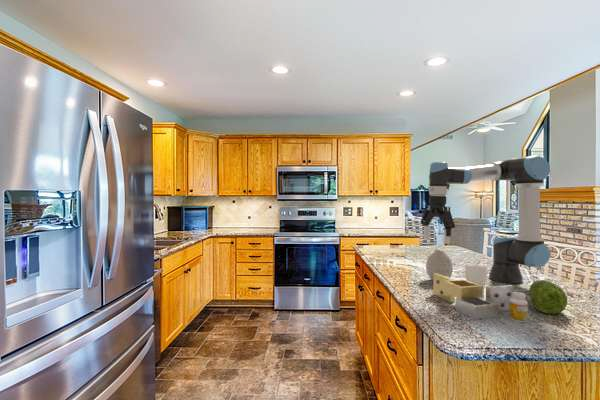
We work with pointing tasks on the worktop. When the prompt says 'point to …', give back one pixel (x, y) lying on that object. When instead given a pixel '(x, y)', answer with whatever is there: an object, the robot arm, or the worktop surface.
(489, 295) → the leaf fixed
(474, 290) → the beige square frame
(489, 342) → the worktop surface
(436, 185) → the robot arm
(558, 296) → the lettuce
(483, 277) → the cup
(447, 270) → the vase
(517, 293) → the supplement bottle
